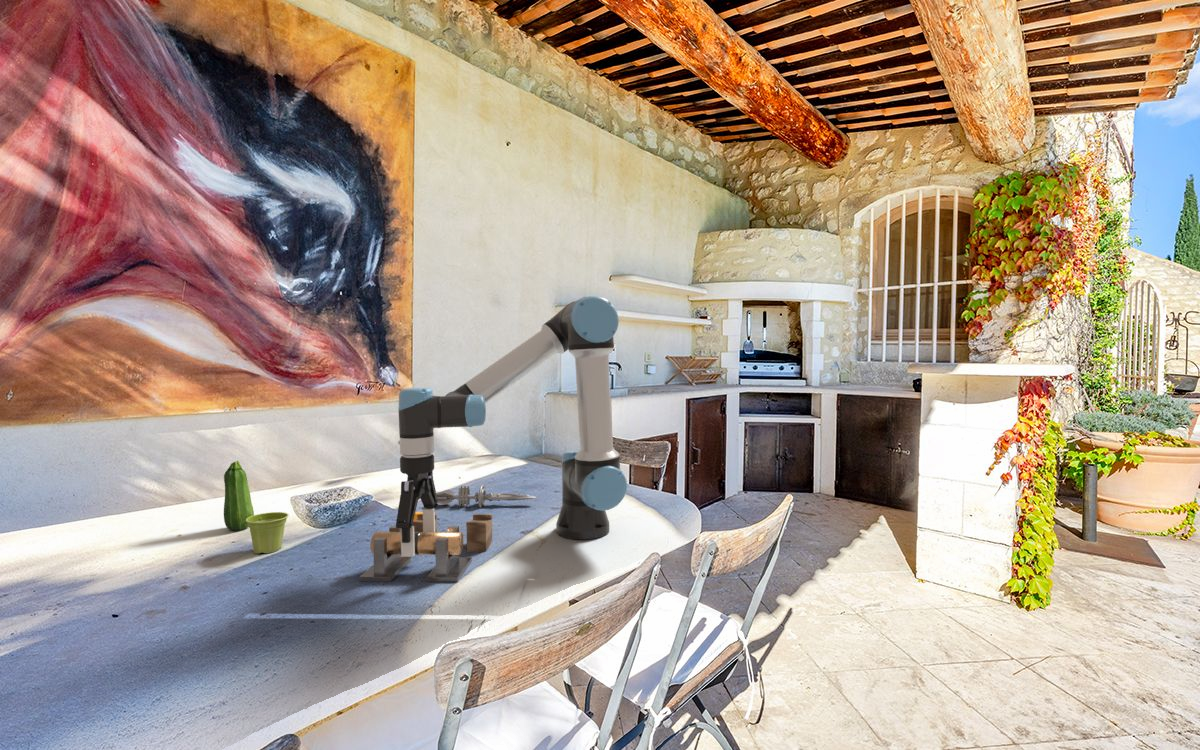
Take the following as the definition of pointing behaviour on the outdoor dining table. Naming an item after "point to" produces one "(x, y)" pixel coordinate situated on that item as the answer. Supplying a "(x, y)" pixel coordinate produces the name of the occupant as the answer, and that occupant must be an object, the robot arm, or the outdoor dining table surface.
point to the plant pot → (267, 531)
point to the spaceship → (476, 496)
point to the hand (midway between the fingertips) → (419, 545)
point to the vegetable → (236, 498)
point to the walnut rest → (469, 531)
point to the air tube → (422, 542)
